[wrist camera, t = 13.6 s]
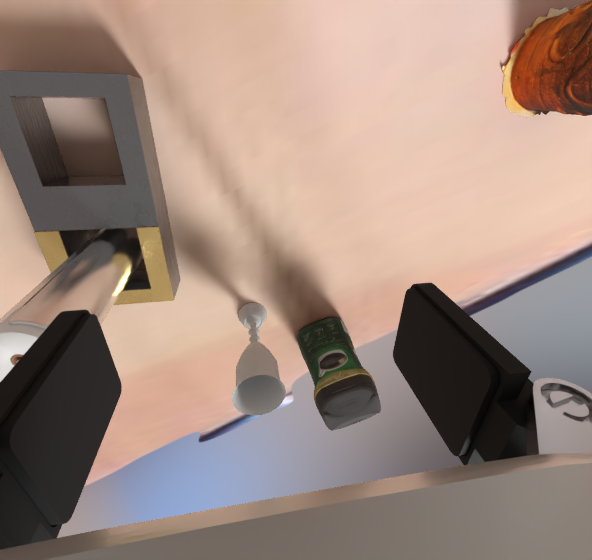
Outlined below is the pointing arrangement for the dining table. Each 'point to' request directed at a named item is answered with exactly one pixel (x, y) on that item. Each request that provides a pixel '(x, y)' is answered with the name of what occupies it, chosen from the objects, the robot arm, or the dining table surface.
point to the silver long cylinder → (72, 290)
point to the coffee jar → (337, 374)
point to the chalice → (256, 369)
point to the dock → (89, 189)
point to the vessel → (552, 65)
